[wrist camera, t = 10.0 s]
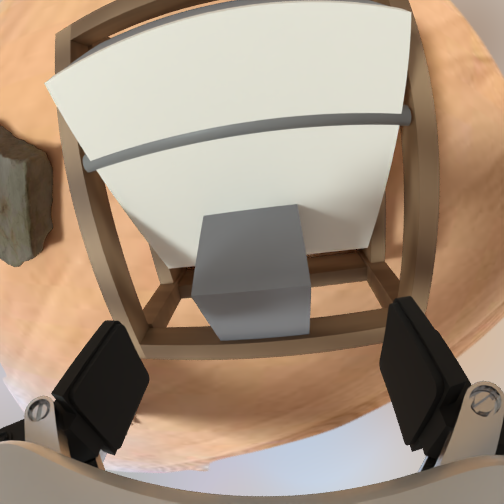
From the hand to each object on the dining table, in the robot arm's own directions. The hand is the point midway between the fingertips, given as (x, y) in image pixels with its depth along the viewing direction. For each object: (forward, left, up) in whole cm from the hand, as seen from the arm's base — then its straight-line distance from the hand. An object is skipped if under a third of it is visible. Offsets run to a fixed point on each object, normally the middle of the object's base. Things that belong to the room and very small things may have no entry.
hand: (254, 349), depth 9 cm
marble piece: (+9, +28, -16) cm, 34 cm away
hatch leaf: (+8, 0, -10) cm, 12 cm away
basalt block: (+1, 0, -8) cm, 8 cm away
